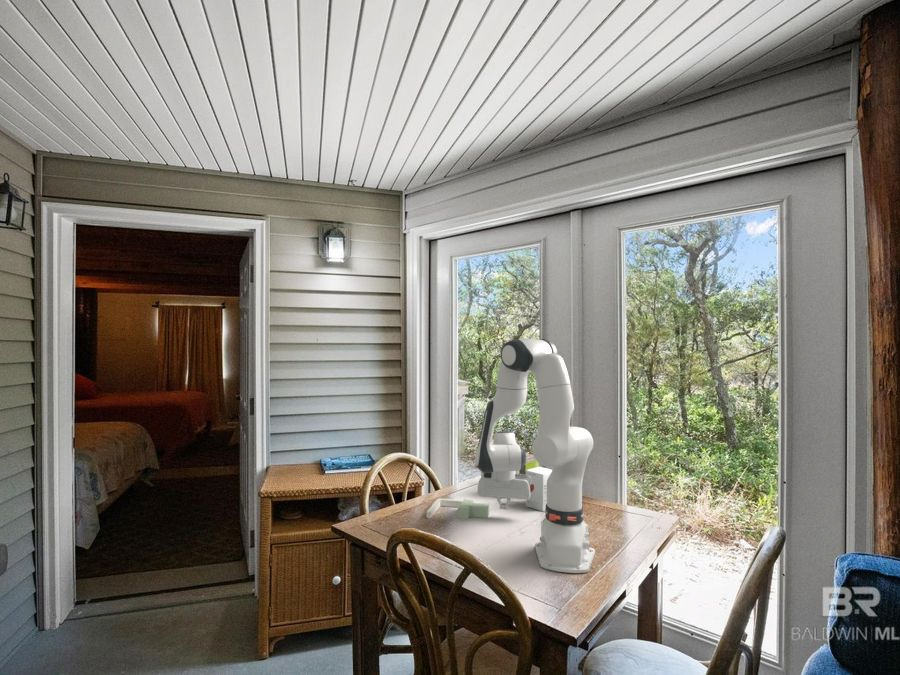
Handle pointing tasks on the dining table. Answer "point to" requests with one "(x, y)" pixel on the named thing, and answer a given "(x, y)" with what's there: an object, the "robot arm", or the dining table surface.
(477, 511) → the t block
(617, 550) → the dining table surface
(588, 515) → the dining table surface
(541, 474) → the supplement box
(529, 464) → the tea box
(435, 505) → the fence
